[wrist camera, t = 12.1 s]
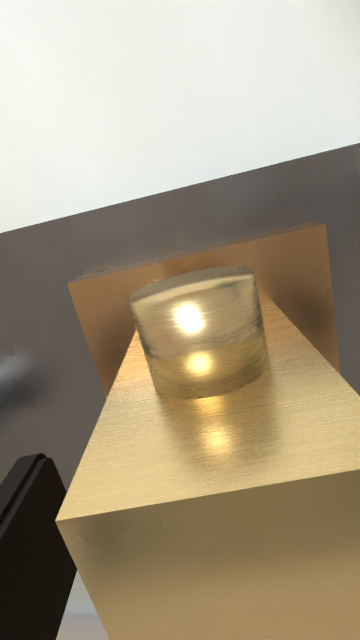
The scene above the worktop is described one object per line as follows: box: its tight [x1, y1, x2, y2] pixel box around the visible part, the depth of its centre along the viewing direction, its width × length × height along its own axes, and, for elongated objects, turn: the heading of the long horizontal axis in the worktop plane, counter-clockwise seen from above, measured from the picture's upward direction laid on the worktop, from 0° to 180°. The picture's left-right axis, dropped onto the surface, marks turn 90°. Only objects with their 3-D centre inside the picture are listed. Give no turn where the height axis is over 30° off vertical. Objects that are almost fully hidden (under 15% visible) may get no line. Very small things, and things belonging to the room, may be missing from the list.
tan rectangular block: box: [55, 266, 360, 640], centre depth 8 cm, size 4×10×7 cm, turn 13°
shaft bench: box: [0, 143, 360, 492], centre depth 12 cm, size 30×14×6 cm, turn 103°
